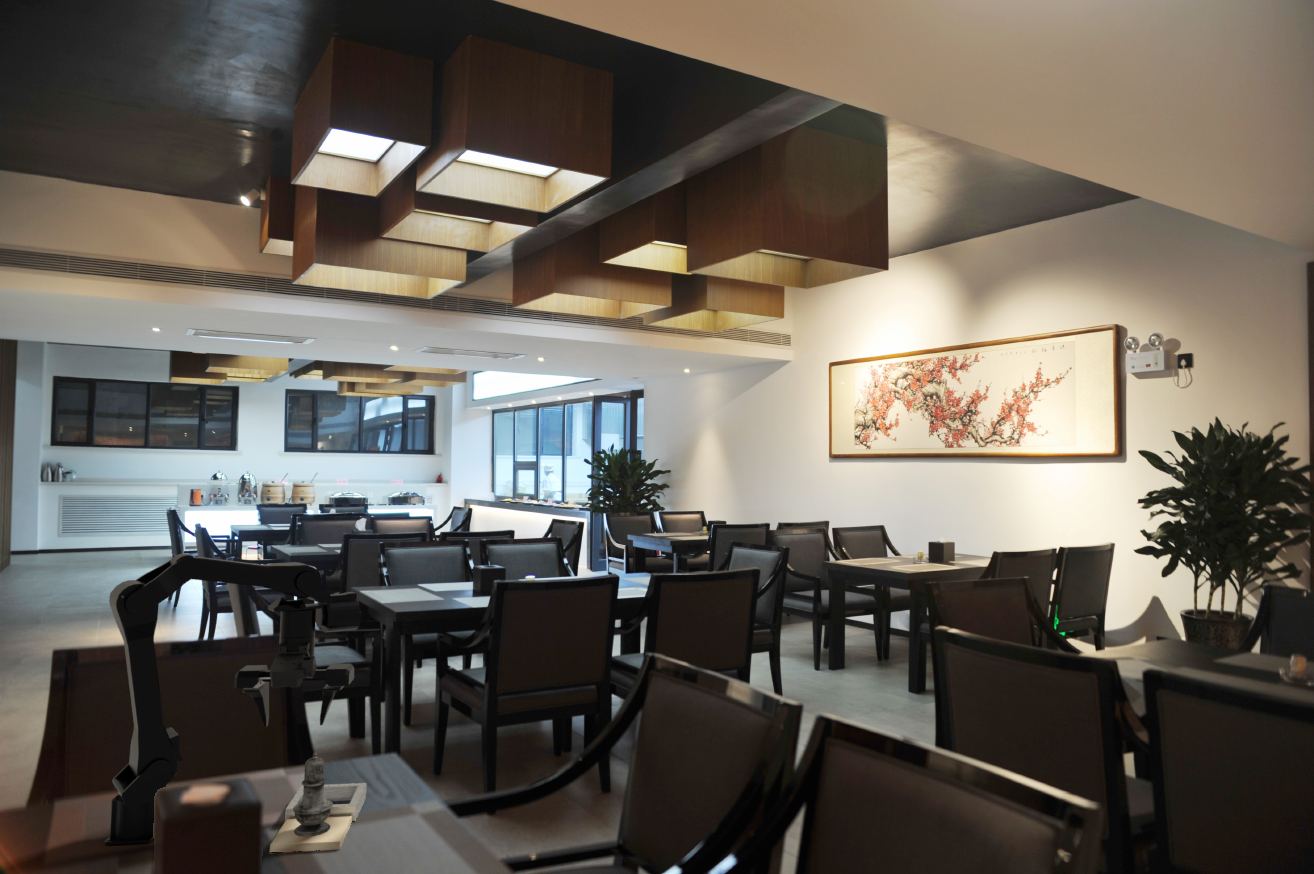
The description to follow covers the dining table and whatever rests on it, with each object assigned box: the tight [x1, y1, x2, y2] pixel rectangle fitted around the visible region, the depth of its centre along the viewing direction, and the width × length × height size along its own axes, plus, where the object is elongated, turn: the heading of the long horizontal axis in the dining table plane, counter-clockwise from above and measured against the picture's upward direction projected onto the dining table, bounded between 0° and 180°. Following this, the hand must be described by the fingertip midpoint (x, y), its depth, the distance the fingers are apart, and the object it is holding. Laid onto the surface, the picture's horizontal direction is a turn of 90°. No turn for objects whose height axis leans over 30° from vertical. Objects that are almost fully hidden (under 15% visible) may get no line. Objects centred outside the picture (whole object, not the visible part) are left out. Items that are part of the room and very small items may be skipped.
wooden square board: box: [269, 816, 353, 853], centre depth 133 cm, size 10×10×1 cm
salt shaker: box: [293, 751, 334, 837], centre depth 134 cm, size 6×6×12 cm
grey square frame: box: [284, 782, 368, 822], centre depth 144 cm, size 11×11×2 cm
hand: (293, 725), depth 148 cm, fingers open, 9 cm apart
